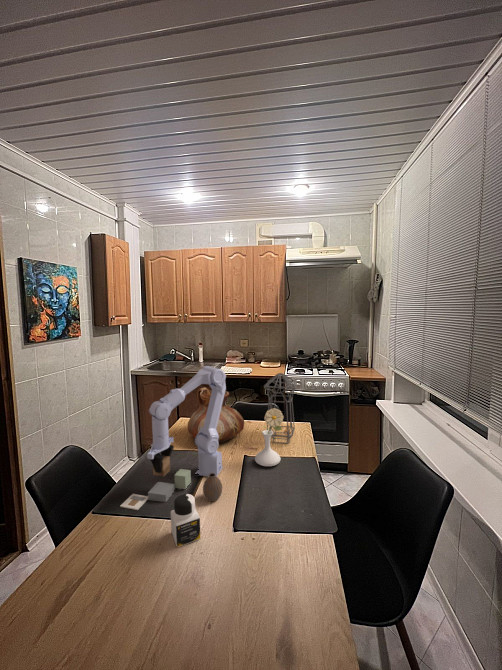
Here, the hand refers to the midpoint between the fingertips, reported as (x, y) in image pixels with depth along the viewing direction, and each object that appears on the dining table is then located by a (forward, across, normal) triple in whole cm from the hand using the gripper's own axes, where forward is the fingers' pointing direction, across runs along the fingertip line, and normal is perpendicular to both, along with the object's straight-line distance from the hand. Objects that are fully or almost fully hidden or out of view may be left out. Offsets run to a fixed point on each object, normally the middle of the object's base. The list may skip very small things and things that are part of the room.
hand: (162, 468), depth 113 cm
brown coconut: (+9, 0, +20) cm, 22 cm away
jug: (+9, -49, +2) cm, 50 cm away
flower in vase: (+8, -30, +35) cm, 47 cm away
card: (+8, +9, -6) cm, 14 cm away
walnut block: (+2, 0, 0) cm, 2 cm away
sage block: (+8, -4, +6) cm, 11 cm away
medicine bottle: (+9, +19, +20) cm, 28 cm away
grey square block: (+9, +3, +1) cm, 9 cm away
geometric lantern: (+8, -55, +36) cm, 66 cm away
